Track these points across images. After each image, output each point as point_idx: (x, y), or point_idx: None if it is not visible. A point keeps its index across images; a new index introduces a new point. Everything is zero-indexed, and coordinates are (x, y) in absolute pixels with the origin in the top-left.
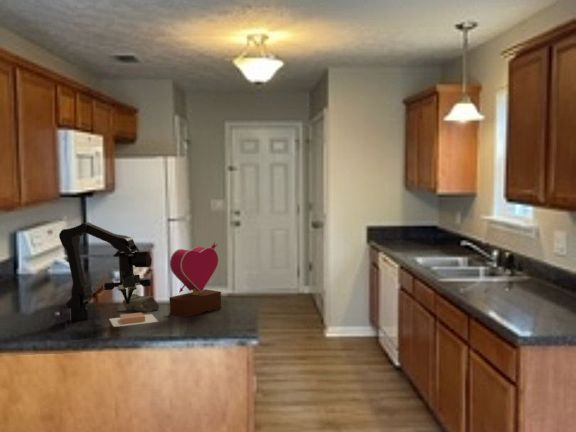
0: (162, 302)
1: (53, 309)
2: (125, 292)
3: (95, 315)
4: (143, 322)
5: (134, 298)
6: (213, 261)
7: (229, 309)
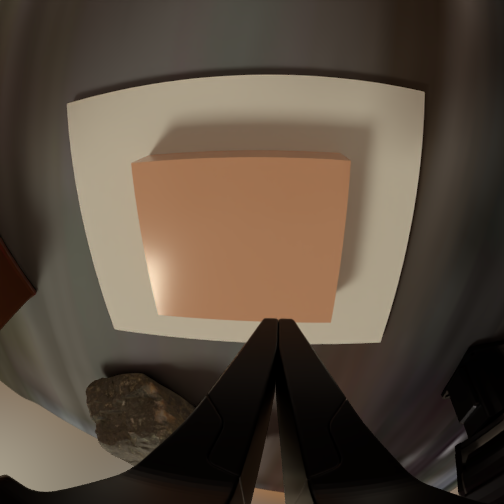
0: None
1: (433, 469)
2: (339, 492)
3: (388, 419)
4: (165, 113)
5: None
6: None
7: None
